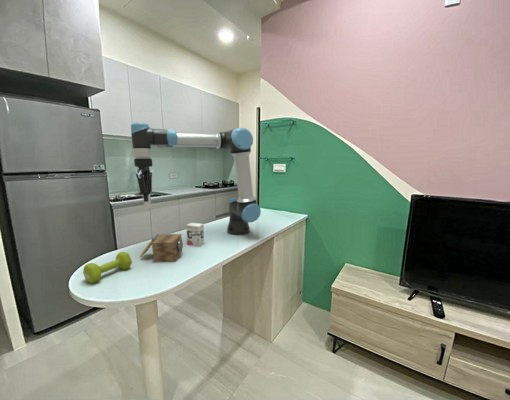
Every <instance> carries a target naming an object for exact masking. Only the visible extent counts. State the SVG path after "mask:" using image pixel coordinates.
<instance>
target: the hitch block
mask: <svg viewBox="0 0 510 400" xmlns="http://www.w3.org/2000/svg"><path fill="white" fill-rule="evenodd" d="M178 240H182V241H183V239H182V233H170V234H169V233H168V234H167V233H165V234H164V233H163V234H159V236H158V237H157V238H156V240H155V241H154V242H152V245H151V247H152V260H153V261H152V262H153V263H175V262H177V260H178V259H179V257H180V256H181V254H182V253H183V250H182V251H181V252H178V251H177V242H178Z"/></svg>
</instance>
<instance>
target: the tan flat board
mask: <svg viewBox="0 0 510 400" xmlns="http://www.w3.org/2000/svg"><path fill="white" fill-rule="evenodd" d="M159 236H160V234H159V233H157V234H156V235H155V236H154V237H152V239H151V240H150V241H149V243H148V244H147V246H146V247H145V248H144V249H143V251H142V252H141V254H140V255H139V258H142V257H143V256H144V255H145V254H146V253H147V252H148V251H149V249H150V248H151V247H152V242H154V241H155V240H156V239H157V238H158V237H159Z"/></svg>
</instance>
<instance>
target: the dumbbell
mask: <svg viewBox="0 0 510 400" xmlns="http://www.w3.org/2000/svg"><path fill="white" fill-rule="evenodd" d="M132 263H133V262H132V258H131V255H130V253H129V252H126V251H120V252H118V253H117V254H116V256H115V259H114V260H112V261H109V262H106V263H104V264H101V265H98V264H96V263H93V262H91V263H87V264H85V265H84V267H83V272H82V274H83V276H84V279H85V281H86V282H88V283H89V284H96V283H97V282H99V281H100V280H101V277H102V274H103V273H106V272H109V271H112V270H113V269H116V268H119V269H121V270H124V271H126V270H128V269H130V268H131V265H132ZM95 282H96V283H95Z"/></svg>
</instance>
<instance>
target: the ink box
mask: <svg viewBox="0 0 510 400" xmlns="http://www.w3.org/2000/svg"><path fill="white" fill-rule="evenodd" d="M185 227H186V244H187V245H186V246H194V247H201V246H203V245H204V244H205V230H204V229H205V227H204V223H198V222H190V223H188V224H186V225H185Z"/></svg>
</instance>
